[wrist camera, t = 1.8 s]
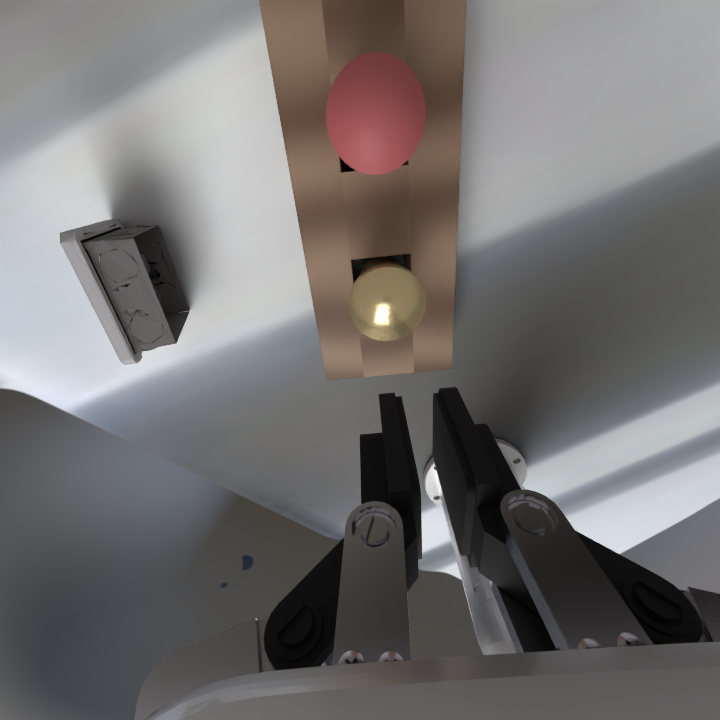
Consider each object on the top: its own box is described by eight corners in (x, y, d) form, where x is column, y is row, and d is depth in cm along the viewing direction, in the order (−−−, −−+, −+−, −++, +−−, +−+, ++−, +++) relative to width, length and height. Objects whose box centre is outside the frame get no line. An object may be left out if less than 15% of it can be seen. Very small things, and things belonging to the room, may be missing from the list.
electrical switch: (109, 218, 28) (24, 236, 20) (173, 211, 28) (115, 226, 20) (154, 322, 32) (100, 372, 24) (209, 316, 32) (173, 363, 24)
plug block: (439, 343, 34) (451, 368, 29) (330, 353, 34) (326, 380, 30) (445, -29, 21) (469, -82, 17) (271, -5, 21) (250, -50, 17)
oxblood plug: (409, 169, 23) (425, 169, 18) (338, 178, 24) (333, 179, 18) (407, 78, 21) (425, 45, 16) (327, 87, 21) (318, 59, 16)
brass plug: (412, 305, 28) (426, 337, 23) (353, 311, 28) (353, 344, 23) (411, 244, 26) (426, 263, 20) (346, 251, 26) (344, 271, 21)
